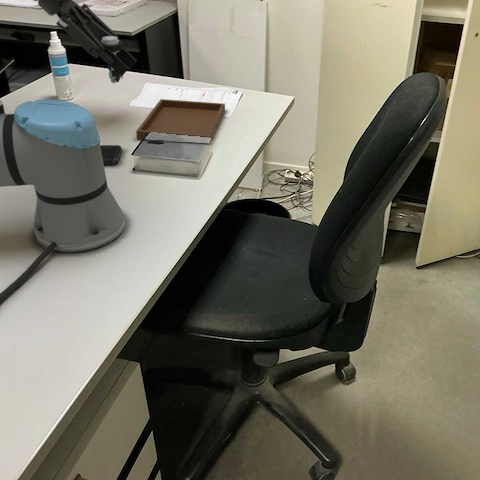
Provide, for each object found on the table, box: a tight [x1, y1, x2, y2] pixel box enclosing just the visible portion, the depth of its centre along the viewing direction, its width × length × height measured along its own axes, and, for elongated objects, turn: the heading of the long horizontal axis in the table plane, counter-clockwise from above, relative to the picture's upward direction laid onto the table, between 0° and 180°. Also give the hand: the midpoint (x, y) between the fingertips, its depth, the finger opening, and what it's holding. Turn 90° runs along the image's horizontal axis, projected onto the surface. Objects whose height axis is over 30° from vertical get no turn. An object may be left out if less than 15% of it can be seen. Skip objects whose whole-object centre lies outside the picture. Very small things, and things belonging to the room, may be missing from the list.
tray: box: [136, 98, 226, 141], centre depth 142 cm, size 22×18×2 cm
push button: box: [99, 36, 124, 84], centre depth 133 cm, size 7×5×10 cm
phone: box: [100, 144, 123, 166], centre depth 124 cm, size 8×1×15 cm
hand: (129, 68), depth 135 cm, fingers closed on push button, 5 cm apart
